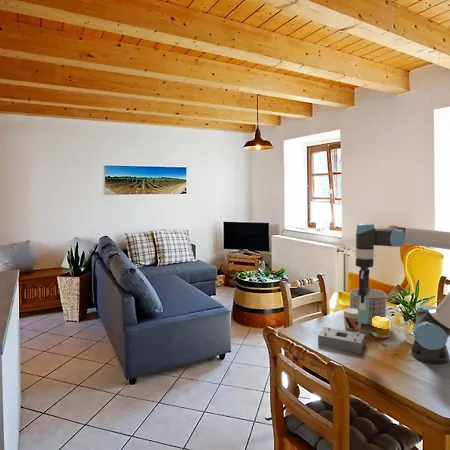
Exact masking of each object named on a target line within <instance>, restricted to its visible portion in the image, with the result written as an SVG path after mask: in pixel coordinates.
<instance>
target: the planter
mask: <svg viewBox="0 0 450 450" xmlns="http://www.w3.org/2000/svg"><path fill="white" fill-rule="evenodd" d="M358 288H359V287H356V288H353V289H351V290H350V293H349V308H355V309H358V293H357V289H358ZM386 313H387V293H386V292H384V291H382V290H380V289H375V288H370V293H369V320H368V323H367V324H364V323H361V326H365V327H372V326H371V325H372V318H373V317H375V316H380V317H387V314H386Z"/></svg>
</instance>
